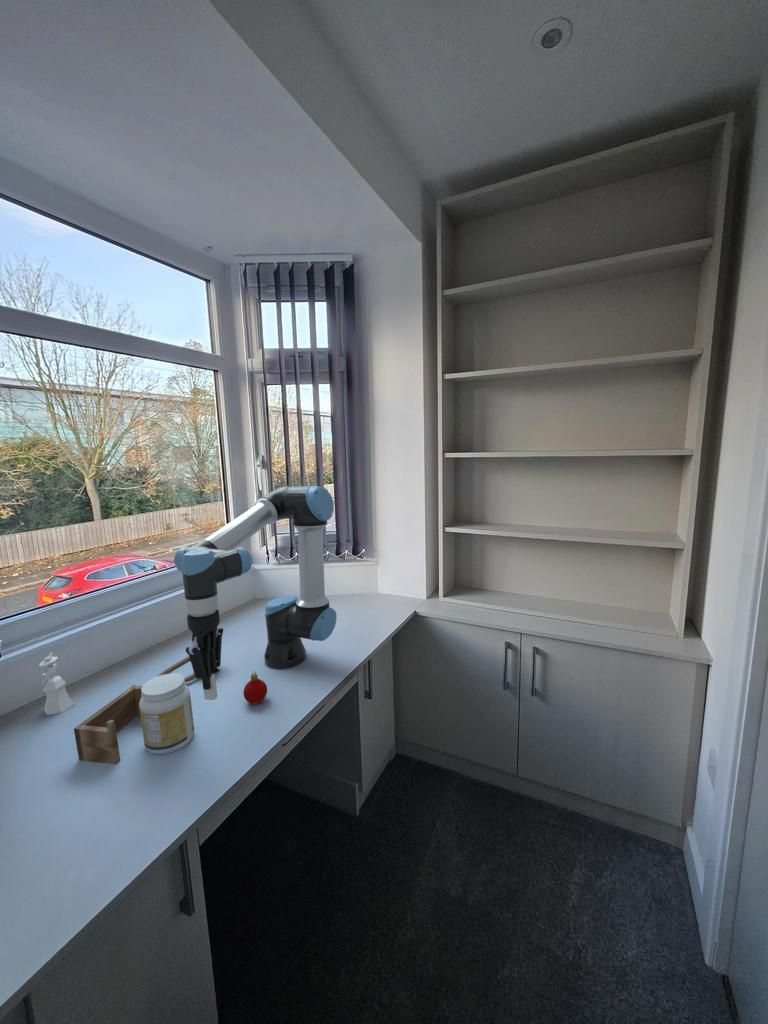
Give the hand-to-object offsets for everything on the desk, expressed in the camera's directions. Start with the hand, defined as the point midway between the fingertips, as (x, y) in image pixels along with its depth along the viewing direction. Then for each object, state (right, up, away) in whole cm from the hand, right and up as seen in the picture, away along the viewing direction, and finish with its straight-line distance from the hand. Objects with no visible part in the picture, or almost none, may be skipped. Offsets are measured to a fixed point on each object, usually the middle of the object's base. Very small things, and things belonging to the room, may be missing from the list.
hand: (211, 697), depth 110 cm
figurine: (-57, -13, +22) cm, 62 cm away
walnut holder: (-27, -14, +8) cm, 31 cm away
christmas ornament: (+5, -11, +22) cm, 25 cm away
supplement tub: (-13, -14, +5) cm, 20 cm away
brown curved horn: (-23, -9, +42) cm, 49 cm away
